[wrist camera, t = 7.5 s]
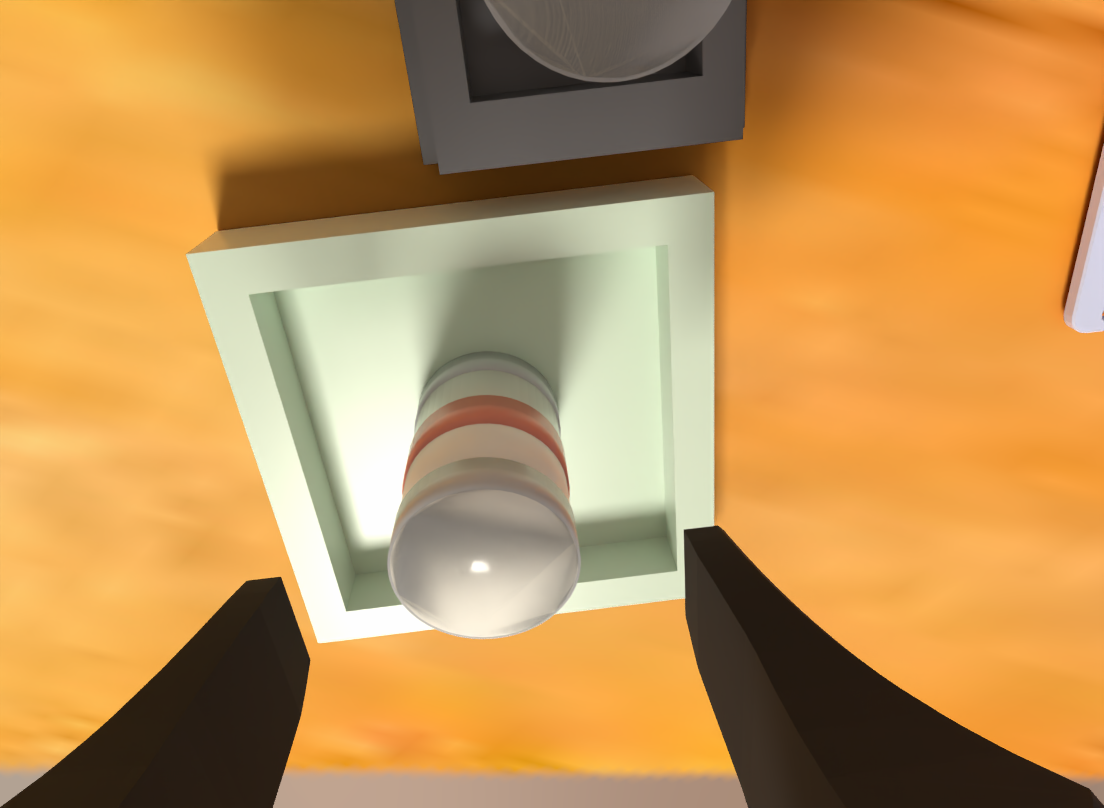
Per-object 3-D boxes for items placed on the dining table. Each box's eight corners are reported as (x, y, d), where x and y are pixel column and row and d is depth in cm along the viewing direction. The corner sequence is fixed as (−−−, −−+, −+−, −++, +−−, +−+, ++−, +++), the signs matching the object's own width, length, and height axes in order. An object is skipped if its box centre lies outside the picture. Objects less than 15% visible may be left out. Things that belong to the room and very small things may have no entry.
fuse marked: (553, 345, 18) (576, 478, 13) (561, 468, 20) (584, 630, 15) (408, 356, 18) (372, 496, 13) (427, 479, 20) (403, 647, 15)
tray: (693, 174, 17) (714, 192, 15) (697, 550, 22) (714, 594, 20) (217, 231, 17) (186, 254, 15) (331, 595, 22) (318, 643, 20)
